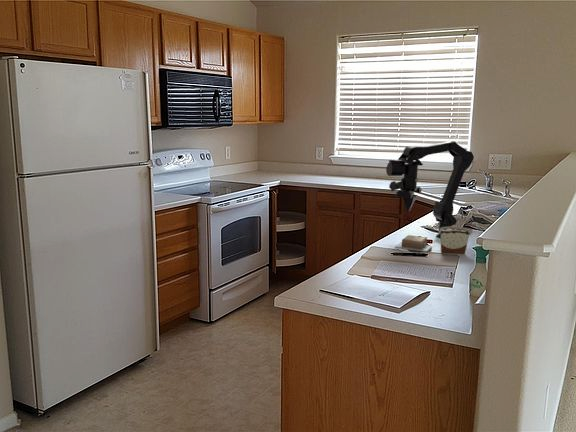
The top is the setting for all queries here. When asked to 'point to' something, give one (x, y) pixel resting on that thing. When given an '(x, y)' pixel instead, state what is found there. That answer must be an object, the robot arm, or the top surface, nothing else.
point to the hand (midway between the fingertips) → (407, 211)
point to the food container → (454, 240)
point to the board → (414, 249)
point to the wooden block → (414, 242)
